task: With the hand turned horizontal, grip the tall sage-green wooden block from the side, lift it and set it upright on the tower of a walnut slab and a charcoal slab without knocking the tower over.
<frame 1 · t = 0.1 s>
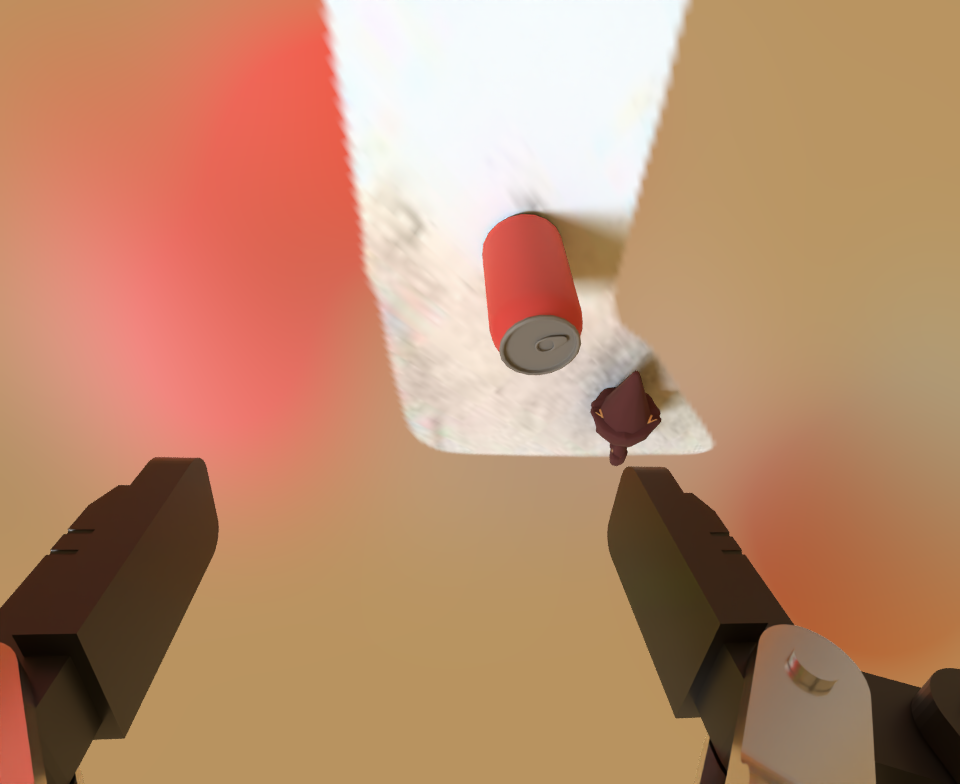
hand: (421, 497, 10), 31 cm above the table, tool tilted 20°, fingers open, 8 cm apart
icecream: (616, 390, 58), on the table
beer can: (521, 244, 43), on the table
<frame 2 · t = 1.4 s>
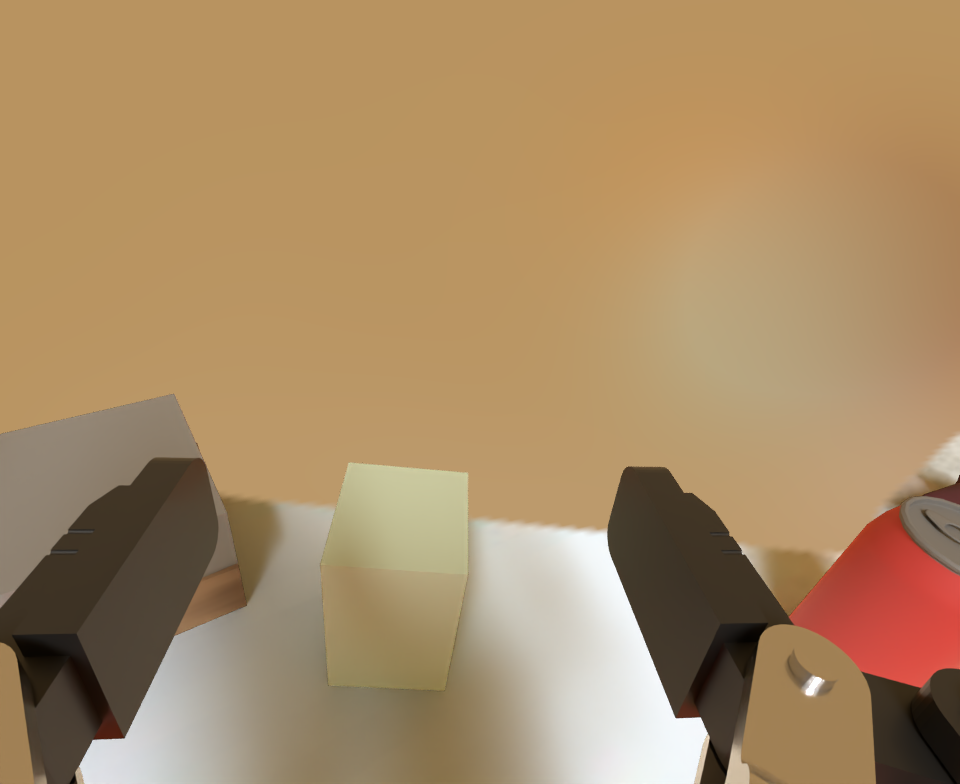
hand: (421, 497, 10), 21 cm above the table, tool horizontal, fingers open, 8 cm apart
sage block: (393, 632, 29), on the table
beer can: (833, 668, 31), on the table
tower base block: (123, 576, 30), on the table, touching tower top block
tower top block: (98, 534, 28), point 3 cm above the table, touching tower base block
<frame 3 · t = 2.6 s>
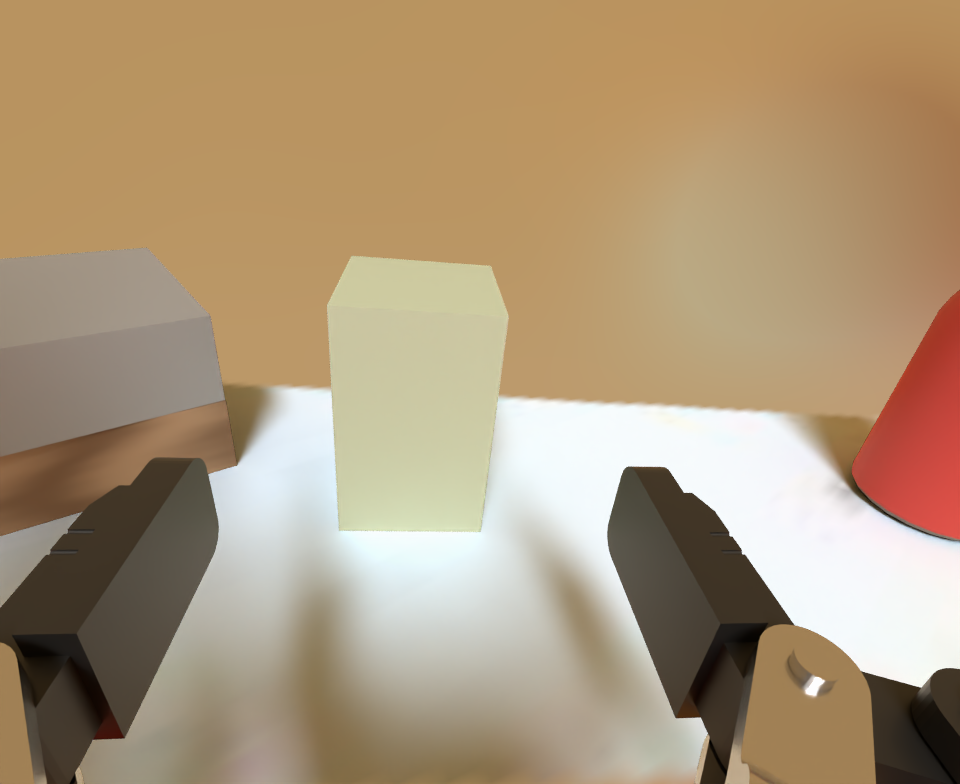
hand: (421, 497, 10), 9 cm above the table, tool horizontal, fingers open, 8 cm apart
sage block: (412, 485, 24), on the table
beer can: (915, 505, 27), on the table
tower base block: (87, 447, 25), on the table, touching tower top block
tower top block: (55, 378, 23), point 4 cm above the table, touching tower base block
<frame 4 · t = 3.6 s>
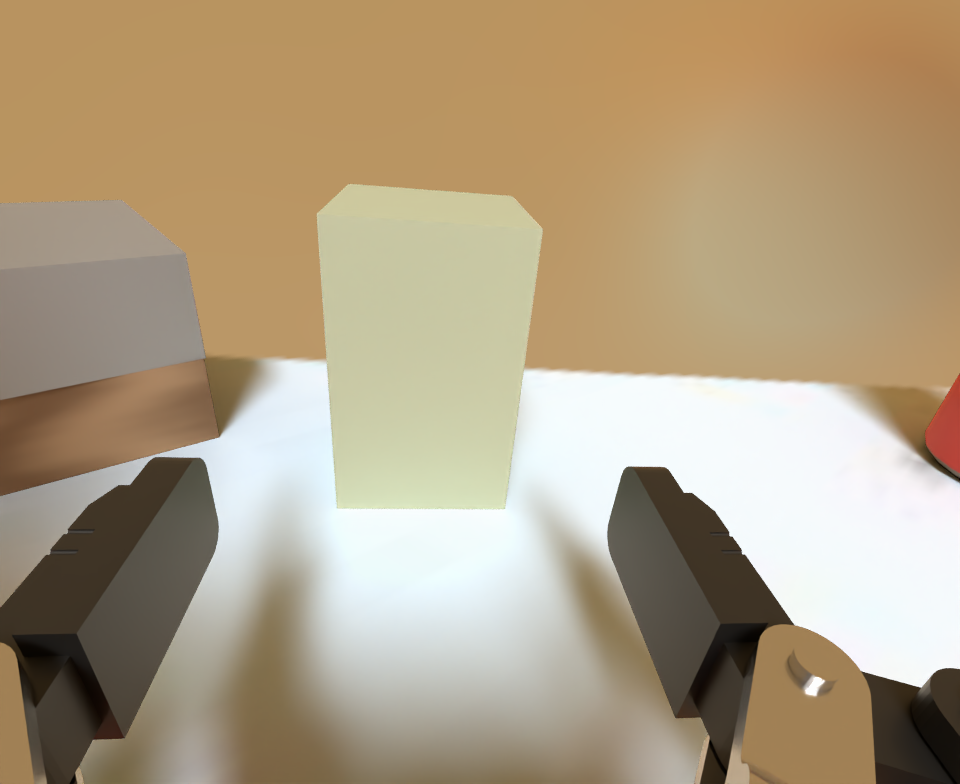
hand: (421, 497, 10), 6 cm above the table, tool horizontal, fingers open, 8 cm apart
sage block: (423, 459, 21), on the table
tower base block: (48, 421, 22), on the table, touching tower top block
tower top block: (9, 337, 20), point 3 cm above the table, touching tower base block
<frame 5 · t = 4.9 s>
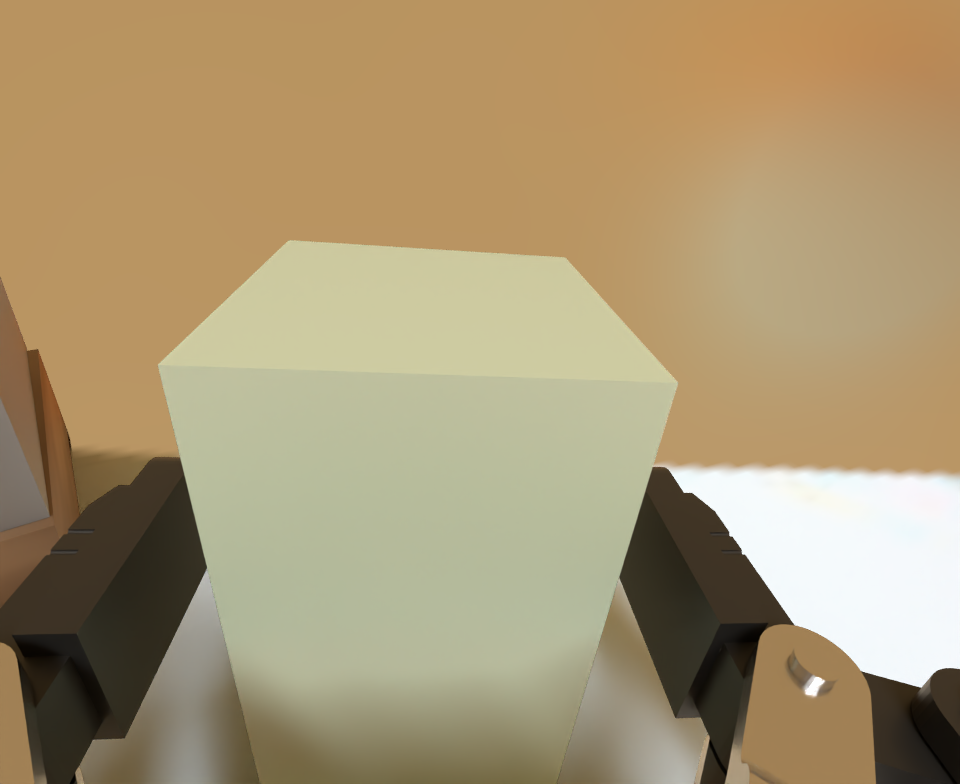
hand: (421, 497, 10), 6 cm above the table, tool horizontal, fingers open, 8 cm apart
sage block: (417, 663, 13), on the table
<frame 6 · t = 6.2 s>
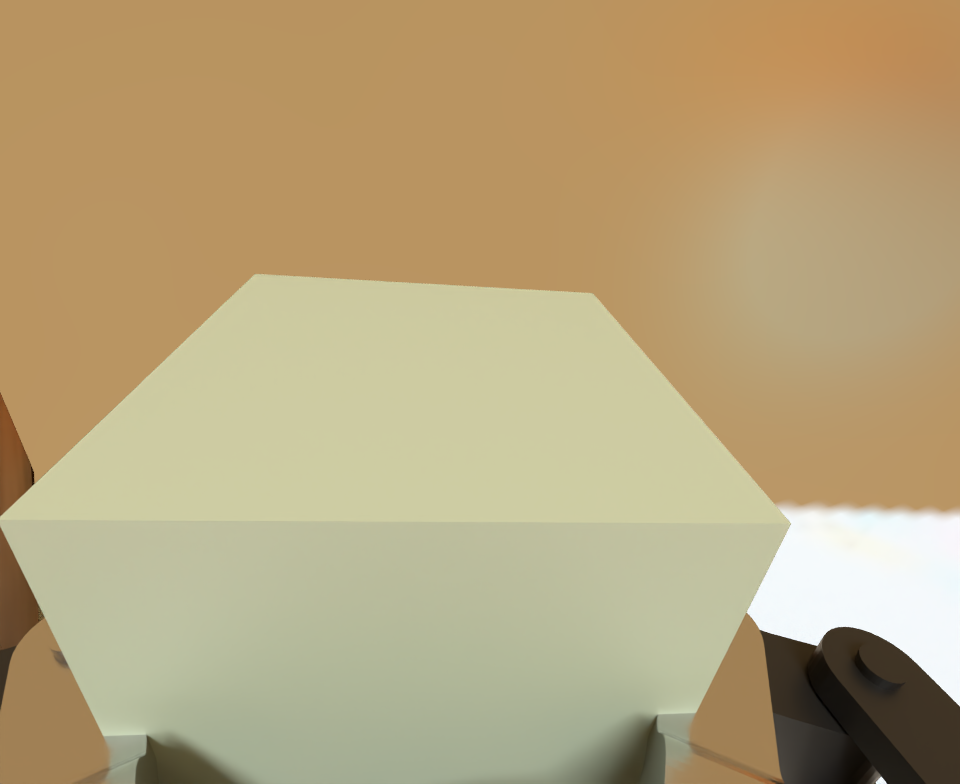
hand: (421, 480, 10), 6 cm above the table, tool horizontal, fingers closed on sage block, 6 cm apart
sage block: (413, 764, 11), on the table, touching gripper
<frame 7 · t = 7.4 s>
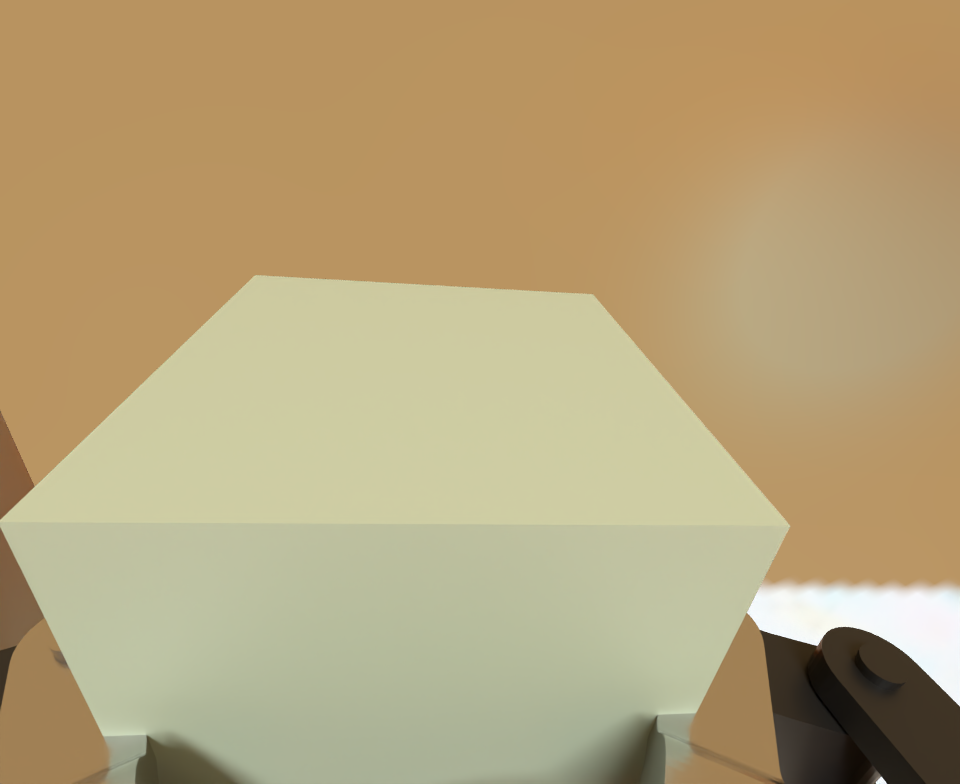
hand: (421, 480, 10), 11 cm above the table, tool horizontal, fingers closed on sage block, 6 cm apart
sage block: (413, 765, 11), point 4 cm above the table, touching gripper
when the fingers open (14 cm above the table, at t = 13.9 s): sage block moves 2 cm, resting on tower top block.
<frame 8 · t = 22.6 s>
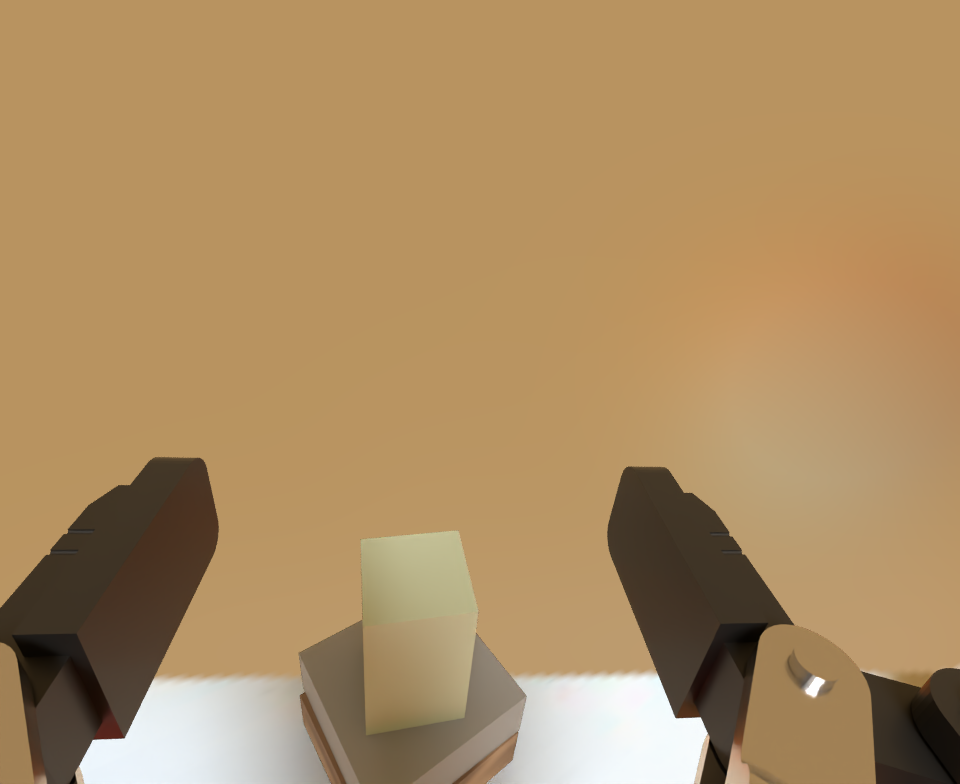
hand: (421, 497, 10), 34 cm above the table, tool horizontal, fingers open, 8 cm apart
sage block: (411, 679, 34), point 8 cm above the table, touching tower top block
tower base block: (406, 744, 38), on the table
tower top block: (409, 708, 36), point 4 cm above the table, touching sage block
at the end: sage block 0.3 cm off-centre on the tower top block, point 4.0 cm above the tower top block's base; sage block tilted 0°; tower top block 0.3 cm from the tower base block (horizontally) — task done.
